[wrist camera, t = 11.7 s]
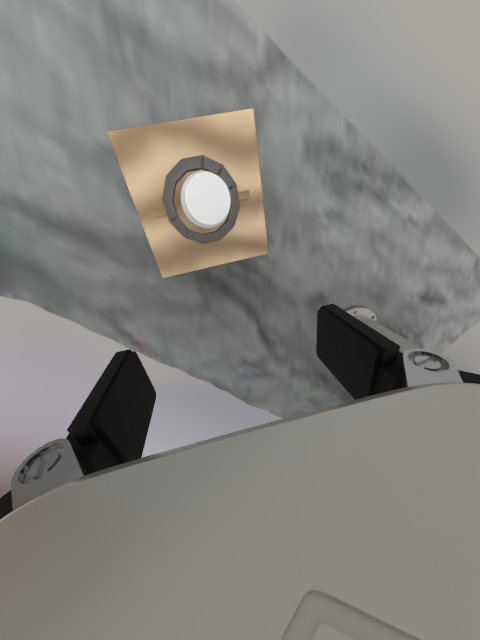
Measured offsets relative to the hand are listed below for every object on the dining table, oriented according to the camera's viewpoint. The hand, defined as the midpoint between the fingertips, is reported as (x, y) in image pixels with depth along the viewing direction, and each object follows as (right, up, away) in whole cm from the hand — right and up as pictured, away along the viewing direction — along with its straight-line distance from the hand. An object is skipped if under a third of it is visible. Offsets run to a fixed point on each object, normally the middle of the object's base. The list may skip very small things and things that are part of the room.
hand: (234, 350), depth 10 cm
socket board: (-5, +19, +19) cm, 28 cm away
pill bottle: (-5, +18, +19) cm, 27 cm away
